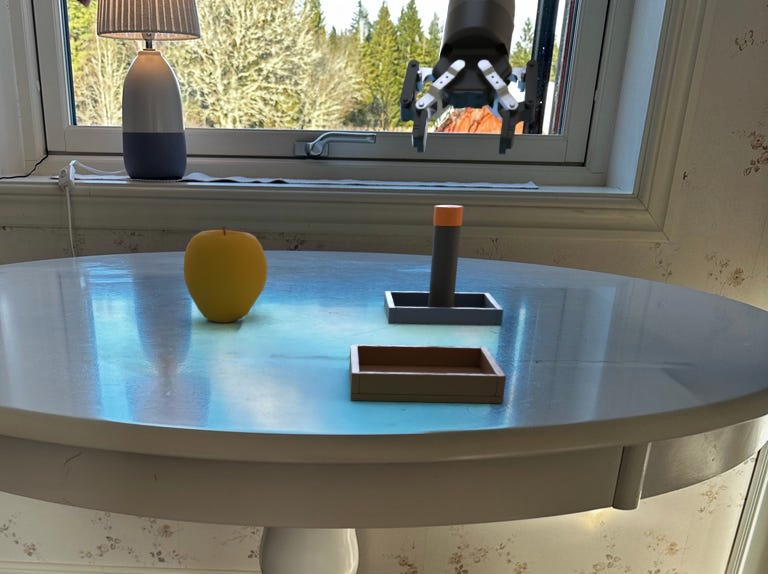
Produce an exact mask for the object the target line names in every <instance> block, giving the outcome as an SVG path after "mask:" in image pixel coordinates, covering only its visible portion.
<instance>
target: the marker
mask: <svg viewBox="0 0 768 574" xmlns="http://www.w3.org/2000/svg"><path fill="white" fill-rule="evenodd" d="M463 215H464V206H463V205H457V204H438V205H434V209H433V222H432V223H433V236H432V237H433V238H432V251H431V252H432V253H431V261H430V262H431V263H430V274H429V275H430V276H429V277H430V278H429V290H428V292H429V302H428V307H446V308H453V307H454V296H455V292H456V284H457V272H458V260H459V249H460V239H461V238H460V237H461V228H462V227H461V226H462V225H463Z"/></svg>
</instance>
